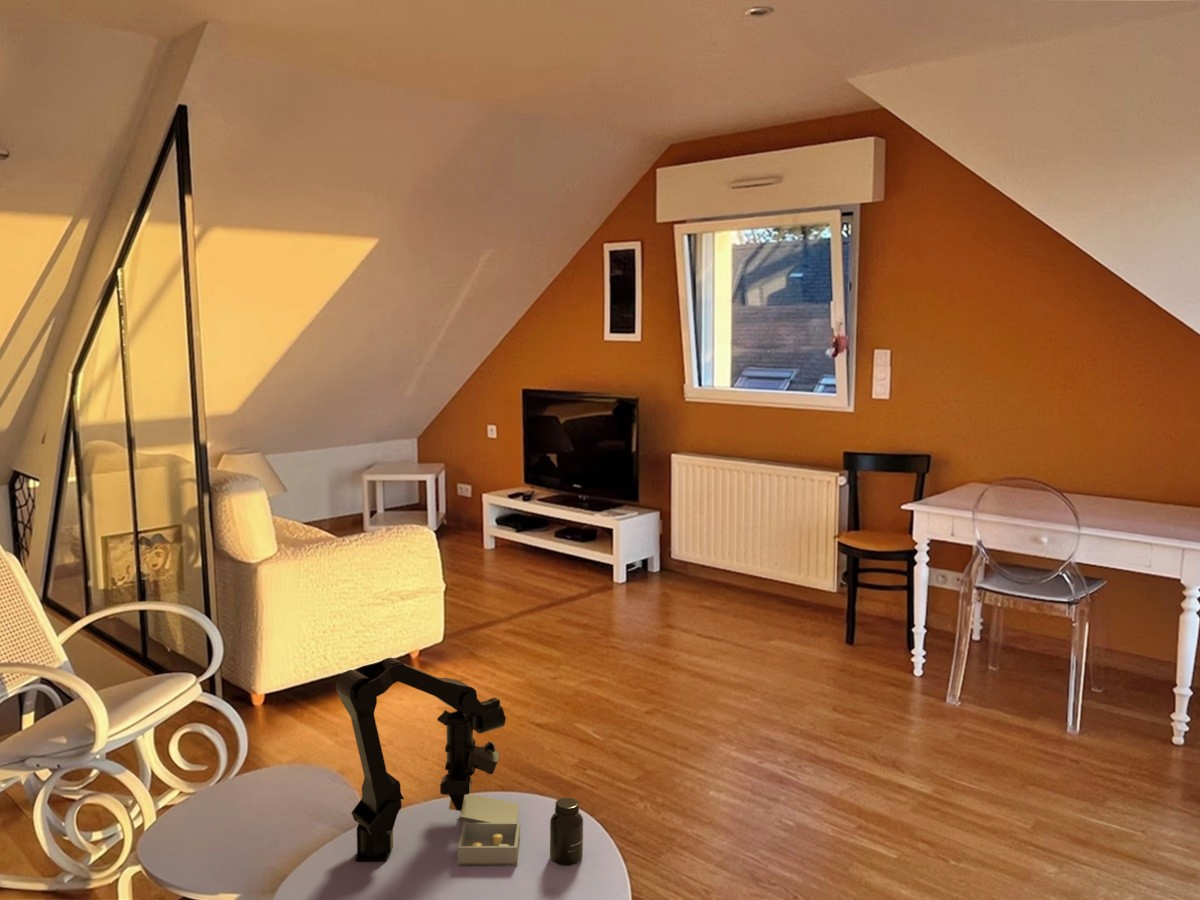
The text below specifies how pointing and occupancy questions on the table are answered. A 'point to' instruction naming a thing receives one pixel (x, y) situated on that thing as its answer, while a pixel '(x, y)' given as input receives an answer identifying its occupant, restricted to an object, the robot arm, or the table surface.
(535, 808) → the table surface
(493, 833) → the tub
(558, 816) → the supplement bottle
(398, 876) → the table surface
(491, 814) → the lid
